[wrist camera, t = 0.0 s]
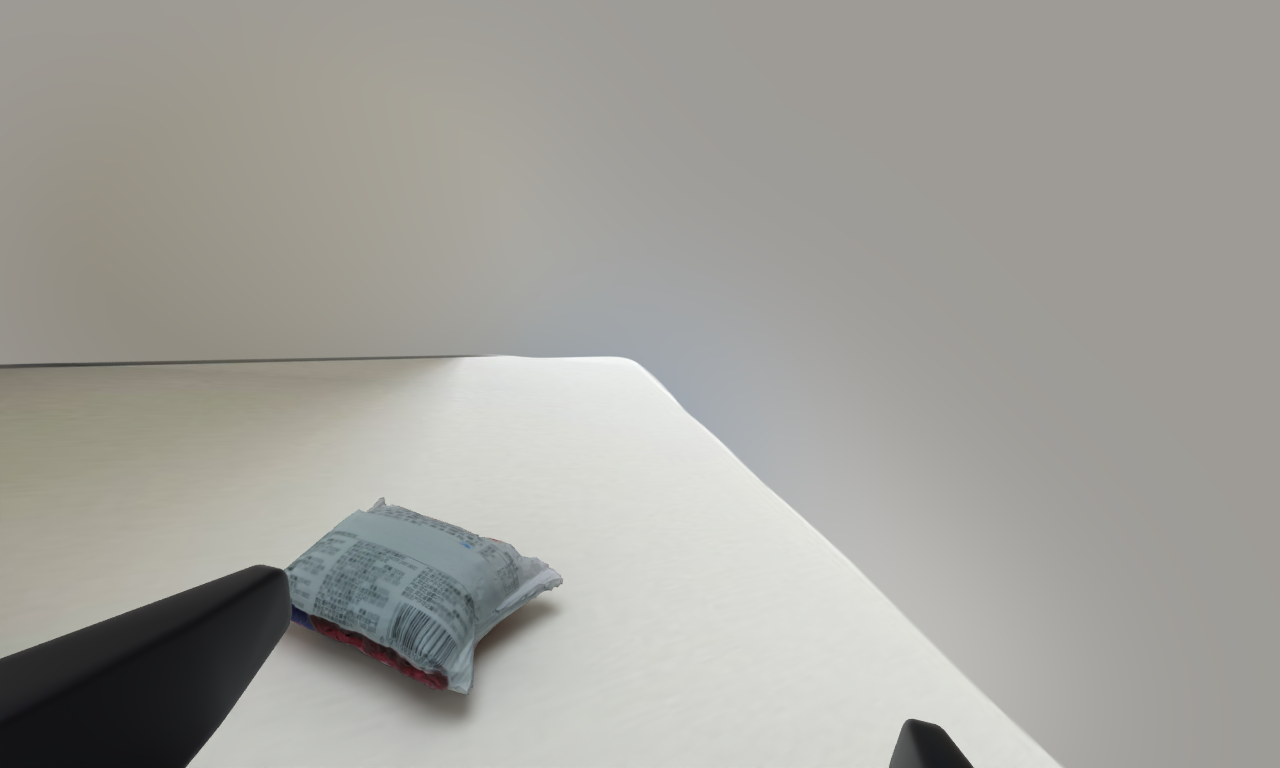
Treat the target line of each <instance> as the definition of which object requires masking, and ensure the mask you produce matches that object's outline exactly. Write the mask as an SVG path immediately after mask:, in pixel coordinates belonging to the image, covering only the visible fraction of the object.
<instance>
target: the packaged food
mask: <svg viewBox="0 0 1280 768" xmlns="http://www.w3.org/2000/svg"><path fill="white" fill-rule="evenodd" d="M284 571H285V572H286V574H287V575H288V580H289V589H290V598H291V607H292V616H291V621H292V622H294V623H296V624H299V625H301V626H303V627H306V628H308V629H311V630H313V631H316V632H319V633H322V634H324V635H326V636H329V637H331V638H333V639H335V640H337V641H341V642H343V643H345V644H348V645H352V646H356V647H357V648H358V649H360V650H361V651H362V652H363V653H365V654H366V655H368V656H370V657H372V658H375V659H377V660H379V661H380V662H382V663H384V664H386V665H388V666H390V667H393V668H395V669H397V670H399V671H400V672H401V673H402V674H404V675H406V676H409V677H411V678H413V679H415V680H417V681H419V682H421V683H423V684H425V685H426V686H427V687H429V688H431V689H435V690H436V689H439V690H444V689H450V690H453V691H456V692H458V693H462V694H465V695H469V692H470V690H471V688H472V687H473V673H474V667H473V657H474V650H475V648H476V646H477V644H478V643H479V641H480V640H481V639H482V638H483V637H484V636H485V635H486V634H488V633H489V632H490V631H491V630H492V629H493V628H494V627H495V625H497V624H498V623H500V622H501V621H502V620H503V619H505V618H506V617H507V616H509V615H510V614H512V613H513V612H515V611H516V610H517V609H519V608H520V607H521V606H523V605H524V604H526V603H527V602H529V601H530V600H532V599H533V598H535V597H537V596H538V595H539V594H540V593H541V592H543V591H547V590H551V591H552V589H553V587H558V586H559V585H560V584H563V579H562V577H561V575H560V574H558V573H557V572H556V571H555V570H554V569H552V568H549V565H548V564H546V563H544V562H542V561H540V560H539V559H538V558H537V557H534V558H528V557H523V556H521V555H520V554H519V553H518V552H517V551H516V549H515V548H514V547H513V546H512V545H511V544H508V543H505V542H502V541H499V540H495V539H491V538H485V537H479V535H475V534H473V533H471V532H469V531H467V530H465V529H462V528H460V527H457V526H455V525H451V524H448V523H445V522H442V521H439V520H436V519H433V518H430V517H427V516H423V515H421V514H419V513H416V512H413V511H411V510H408V509H406V508H403V507H400V506H395V505H390V506H386V504H385V499H384V497H383V498H380V499H379V500H378V501H377V502H376V503H375V505H374V506H373V507H372V508H371V509H369V510H368V511H367V512H362V511H361V510H359V509H358V510H357V511H356V512H354V513H353V514H351V515H350V516H349V517H347V518H346V519H345V520H343V521H342V522H341V523H339V524H338V525H337V526H336V527H335V528H334V529H333V530H332V531H331V532H329V533H327V534H326V535H325V536H324V537H323V538H322V539H320V540H319V541H318V542H317V543H316V544H314V545H313V546H312V547H311V548H310V549H308V550H307V551H306V552H305V553H304V554H302V555H301V556H300V557H299V558H298V559H296V560H295V561H294V562H293V563H292V564H291V565H290V566H289V567H288V568H286V569H284Z"/></svg>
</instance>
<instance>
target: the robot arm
mask: <svg viewBox="0 0 1280 768" xmlns="http://www.w3.org/2000/svg"><path fill="white" fill-rule="evenodd" d="M291 616H292V607H291V598H290V589H289V580H288V575H287V574H286V572H285V571H284V570H282V569H279V568H275V567H270V566H266V565H255V566H252V567H249V568H246V569H244V570H241V571H238V572H235V573H233V574H230V575H227V576H224V577H222V578H219V579H216V580H214V581H211V582H208V583H205V584H203V585H200V586H197V587H195V588H192V589H189V590H186V591H184V592H181V593H178V594H175V595H173V596H170V597H167V598H165V599H162V600H159V601H156V602H154V603H151V604H148V605H146V606H143V607H140V608H137V609H135V610H132V611H129V612H126V613H124V614H121V615H118V616H116V617H113V618H110V619H107V620H105V621H102V622H99V623H97V624H94V625H91V626H88V627H86V628H83V629H80V630H77V631H75V632H72V633H69V634H67V635H64V636H61V637H58V638H56V639H53V640H50V641H48V642H45V643H42V644H39V645H37V646H34V647H31V648H28V649H26V650H23V651H20V652H18V653H15V654H12V655H9V656H7V657H4V658H1V659H0V768H186V766H187V765H188V764H189V763H190V762H191V760H192V759H193V758H194V757H195V756H196V754H197V753H198V752H199V751H200V749H201V748H202V747H203V746H204V745H205V743H206V742H207V741H208V740H209V738H210V737H211V736H212V735H213V733H214V732H215V731H216V730H217V728H218V727H219V726H220V725H221V723H222V722H223V720H224V719H225V718H226V716H227V715H228V714H229V712H230V711H231V710H232V708H233V707H234V705H235V704H236V702H237V701H238V700H239V698H240V697H241V695H242V694H243V692H244V691H245V689H246V688H247V687H248V685H249V684H250V682H251V681H252V679H253V678H254V676H255V675H256V674H257V672H258V671H259V669H260V668H261V666H262V665H263V663H264V662H265V660H266V659H267V658H268V656H269V655H270V653H271V652H272V650H273V649H274V647H275V646H276V645H277V643H278V642H279V640H280V639H281V637H282V636H283V634H284V633H285V632H286V630H287V628H288V626H289V624H290V621H291ZM889 768H974V767H973V766H972V765H971V763H970V762H969V761H968V760H967V758H966V757H965V756H964V755H963V753H962V752H961V751H960V749H959V748H958V747H957V746H956V744H955V743H954V742H953V741H952V739H951V738H950V737H949V735H948V734H947V733H946V732H945V731H944V729H942V728H941V727H940V726H938V725H936V724H932V723H928V722H924V721H920V720H915V719H908V720H906V722H905V723H904V724H903V726H902V729H901V732H900V735H899V738H898V741H897V744H896V746H895V749H894V752H893V755H892V758H891V761H890V765H889Z"/></svg>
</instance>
